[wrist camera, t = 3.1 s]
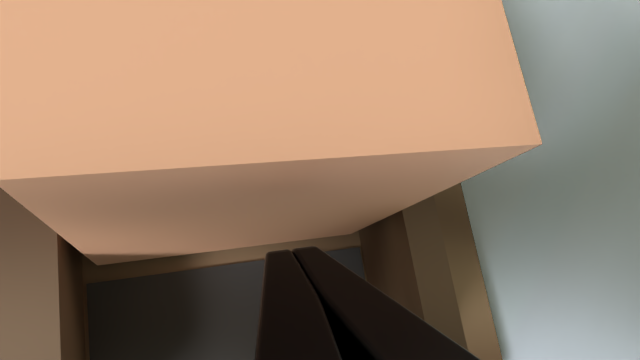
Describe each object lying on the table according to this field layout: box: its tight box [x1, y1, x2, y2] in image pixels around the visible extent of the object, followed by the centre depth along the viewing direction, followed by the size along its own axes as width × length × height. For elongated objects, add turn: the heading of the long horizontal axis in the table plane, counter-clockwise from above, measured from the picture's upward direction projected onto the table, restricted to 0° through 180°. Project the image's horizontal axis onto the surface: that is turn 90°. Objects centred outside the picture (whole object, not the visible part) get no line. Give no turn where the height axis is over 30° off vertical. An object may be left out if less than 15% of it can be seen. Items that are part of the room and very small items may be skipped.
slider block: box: [0, 0, 542, 266], centre depth 10 cm, size 8×7×8 cm
